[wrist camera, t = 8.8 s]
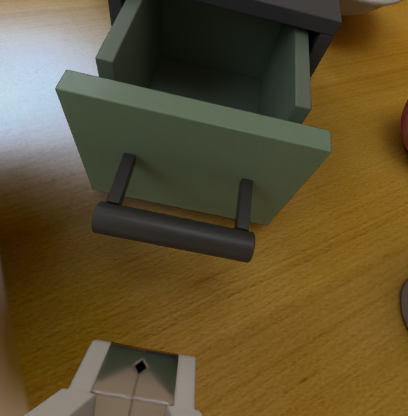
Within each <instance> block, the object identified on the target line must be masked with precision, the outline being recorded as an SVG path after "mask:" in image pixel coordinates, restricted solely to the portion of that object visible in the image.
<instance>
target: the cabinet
mask: <svg viewBox="0 0 408 416" xmlns="http://www.w3.org/2000/svg"><path fill="white" fill-rule="evenodd" d="M125 1H126V0H108V3H109V11H110V18H111V26H112V25H113V24H114V22H115V20H116V18H117V16H118V14H119V12H120V10H121V8H122V7H123V5H124V3H125ZM194 1H198V2H202V3H206V4H210V5H214V6H218V7H222V8H225V9H229V10H233V11H237V12H241V13H245V14H249V15H253V16H257V17H261V18H264V19H268V20H272V21H276V22H280V23H284V24H288V25H292V26H296V27H300V28H303V29H307V30H308V40H309V65H310V78H311V76H312V74H313V73H314V71H315V69H316V67H317V66H318V64H319V62H320V60H321V58H322V57H323V55H324V53H325V51H326V50H327V48H328V46H329V44H330V43H331V41H332V39H333V36H334V35H335V34H336V32H337V30H338V29H339V27H340V25H341V23H342V19H341V12H340V4H339V0H194Z"/></svg>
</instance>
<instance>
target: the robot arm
mask: <svg viewBox="0 0 408 416" xmlns="http://www.w3.org/2000/svg"><path fill="white" fill-rule="evenodd" d="M195 381H196V358H195V356H189V355H183V354H176V353H170V352H164V351H158V350H152V349H146V348H145V349H144V348H139V347H134V346H129V345H124V344H119V343H114V342H107V341H102V340H98V339H94V340H93V342H92V343H91V344H90V346H89V348H88V350H87V352H86V354H85V356H84V358H83V360H82V362H81V364H80V366H79V368H78V370H77V372H76V374H75V376H74V378H73V380H72V382H71V384H70V386H69V388H68V389H63V388H62V389H61V390H59V391H58V392H56V393H55V394H54V395H52V396H51V397H49V398H48V399H47V400H45V401H44V402H42V403H41V404H39V405H38V406H37V407H35V408H34V409H32V410H31V411H30V412H28V413H27V414H25V415H24V416H203V415H202V413H201V411H200V410H195Z"/></svg>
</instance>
